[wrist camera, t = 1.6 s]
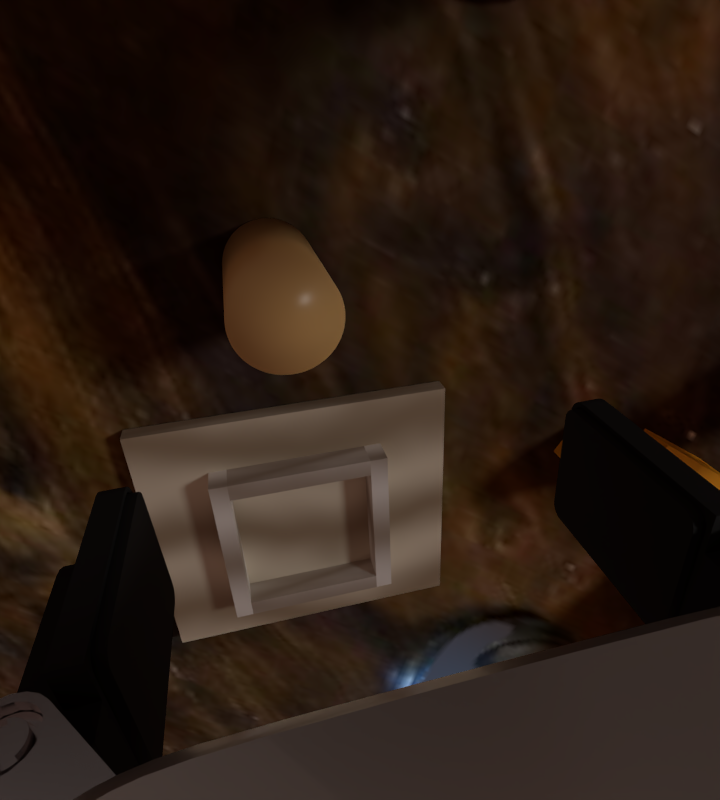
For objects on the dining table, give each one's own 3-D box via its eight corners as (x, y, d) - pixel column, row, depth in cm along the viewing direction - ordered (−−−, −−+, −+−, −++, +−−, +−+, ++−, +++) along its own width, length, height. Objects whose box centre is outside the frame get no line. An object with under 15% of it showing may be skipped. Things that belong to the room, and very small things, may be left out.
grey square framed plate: (122, 430, 30) (115, 456, 27) (438, 381, 33) (455, 401, 31) (183, 630, 37) (181, 663, 35) (434, 574, 40) (447, 602, 38)
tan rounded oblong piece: (214, 223, 26) (213, 268, 19) (308, 213, 27) (340, 253, 20) (230, 313, 28) (235, 383, 21) (317, 302, 29) (349, 365, 22)
